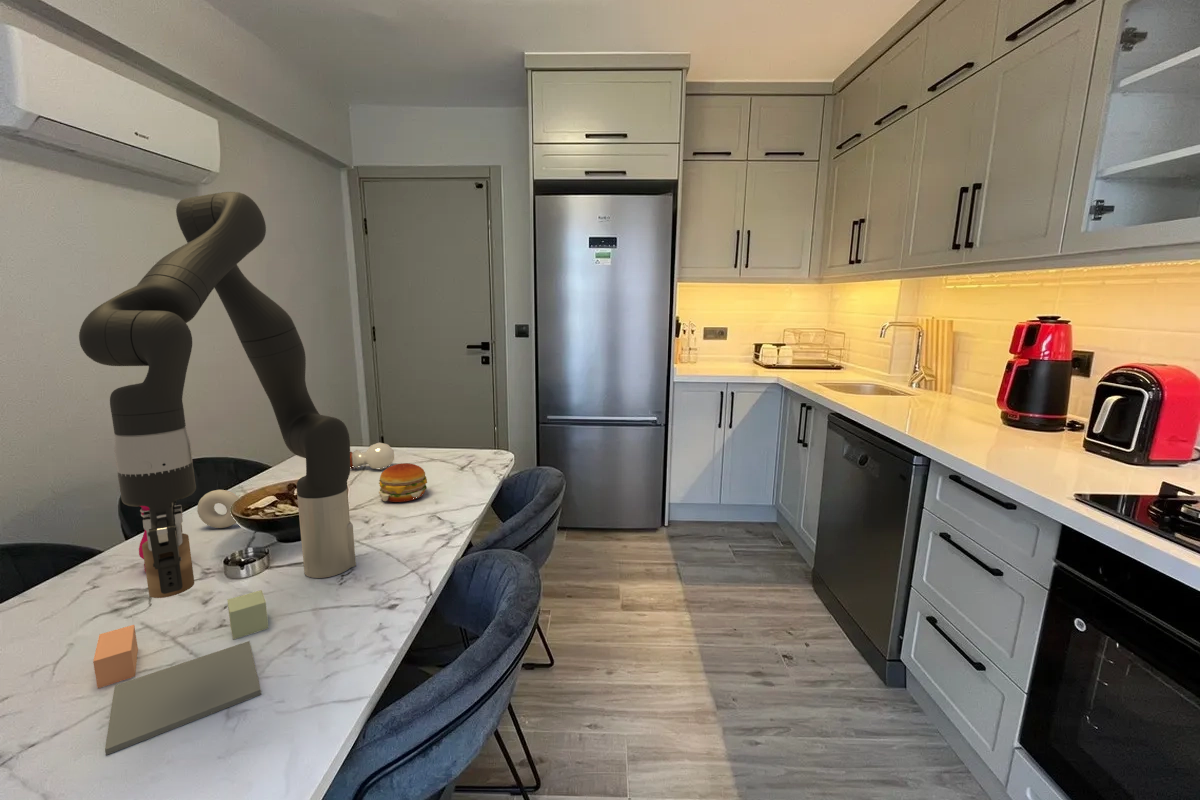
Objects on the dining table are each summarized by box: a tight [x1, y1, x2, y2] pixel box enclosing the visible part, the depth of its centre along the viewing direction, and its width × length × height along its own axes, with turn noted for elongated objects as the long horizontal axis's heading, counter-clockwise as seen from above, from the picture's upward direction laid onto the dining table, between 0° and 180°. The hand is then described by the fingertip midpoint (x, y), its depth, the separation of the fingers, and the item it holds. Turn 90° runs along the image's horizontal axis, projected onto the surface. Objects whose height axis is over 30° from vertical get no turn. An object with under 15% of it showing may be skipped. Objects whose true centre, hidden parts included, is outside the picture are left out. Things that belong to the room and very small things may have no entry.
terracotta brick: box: [92, 624, 139, 689], centre depth 77 cm, size 8×4×4 cm, turn 40°
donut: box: [197, 489, 240, 529], centre depth 126 cm, size 10×4×10 cm, turn 98°
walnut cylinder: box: [142, 532, 195, 599], centre depth 69 cm, size 5×5×7 cm
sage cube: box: [226, 589, 269, 640], centre depth 87 cm, size 5×5×5 cm
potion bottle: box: [350, 442, 395, 471], centre depth 176 cm, size 9×10×15 cm
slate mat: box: [104, 640, 262, 756], centre depth 72 cm, size 16×14×1 cm
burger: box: [378, 462, 428, 503], centre depth 149 cm, size 13×14×10 cm
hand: (172, 582), depth 69 cm, fingers closed on walnut cylinder, 4 cm apart
